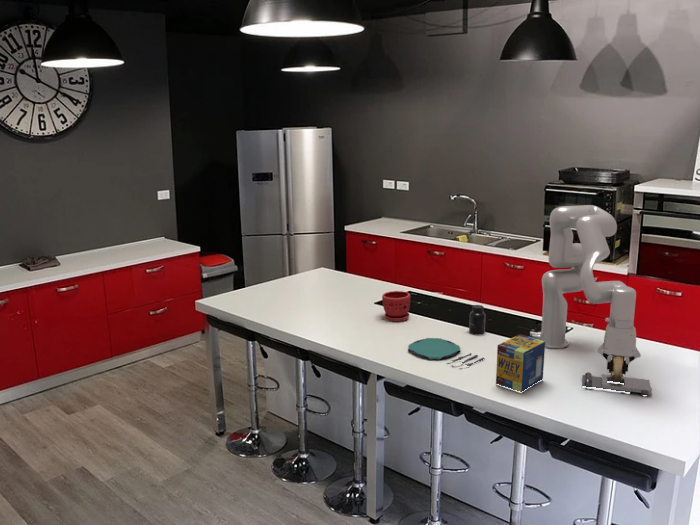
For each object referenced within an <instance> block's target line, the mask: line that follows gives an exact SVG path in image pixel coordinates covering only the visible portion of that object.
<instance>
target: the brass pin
mask: <svg viewBox="0 0 700 525" xmlns="http://www.w3.org/2000/svg"><path fill="white" fill-rule="evenodd" d="M611 360H612V369H611V373H610V374H609V375H610V379H611V380H612V381H616V382H621V381H622V380H623V377H624V374H623V369H624V361H625V356H616V355H612V358H611Z"/></svg>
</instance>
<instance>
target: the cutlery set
mask: <svg viewBox="0 0 700 525" xmlns="http://www.w3.org/2000/svg"><path fill="white" fill-rule="evenodd" d="M407 350H408V351H410V352H411V353H413V354H415V355H416V356H418V357H422V358H426V359H429V360H431V359H436V361H439V360H441V359H446V358H447V359H448V358H450V357H454V356H455V355H456V354H458V352H459V350H460V351H461V346H460V345H458V344H456V343H454V342H452V341H451V340H450V341H449V340H446V339H443V338H437V337H427V338H423V339H417V340H416V341H414V342H412V343H409V344H408V349H407ZM471 354H472V353H471V352H470V353H468V354H465V355H463V356H458V357H457V358H455V359H452V360H451V361H454V362H456V361H455V360H457V361H458V359H460V360H462V359H461V358H463V357H464V358H466V357H468V356H470V357H469V358H467V359H465V360H464V363H463V361H461V362H462V363H463V364H464V365H467V366H472V365H471V364H473V362H470V363H466V362H468V361H470V360H473V359H475V357H476V358H478V357H479V355H478V354H475V355H473V356H472V355H471ZM465 356H466V357H465ZM464 358H463V359H464ZM472 358H473V359H472ZM437 359H438V360H437ZM483 359H484V360H485V357H481V358H479V359H477V360H476V361H475V360H474V363H476V362H478V361H480V362H482V361H484V360H483ZM467 360H468V361H467ZM481 360H482V361H481ZM465 361H466V362H465ZM478 363H479V362H478ZM476 364H477V363H476ZM473 365H474V364H473Z"/></svg>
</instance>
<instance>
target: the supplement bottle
mask: <svg viewBox="0 0 700 525" xmlns="http://www.w3.org/2000/svg"><path fill="white" fill-rule="evenodd" d="M484 309H485V308H484V305H480V304H474V305H472V310H471V311H470V313H469V324H468V325H469V326H468V332H469V333H470V334H472V335H475V334H481V335H483V334H485V332H486V318H487V317H486V313H485V312H484Z"/></svg>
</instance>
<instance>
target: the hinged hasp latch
mask: <svg viewBox="0 0 700 525" xmlns="http://www.w3.org/2000/svg"><path fill="white" fill-rule="evenodd" d="M610 375H611V374H604V373H602V374H601V376H593V374H592V373H591V372H589V371H587V372H585V373H584V374H582V376H581V377H582V378H581V387H582V386H586V387H596V388H603V389H611V390H616V391H625V392H630V393H631V392H632V393H640V395H641V394H642V395H648V396H649V395H652V387H651V386H652V385H651V382H650V379H644V378H634V377H627V376H623V380H622V381H621V382H620V383H624V385H619V384H611V383H607V381H612V380H611V379H610ZM613 382H616V381H613ZM642 395H641V396H642Z"/></svg>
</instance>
